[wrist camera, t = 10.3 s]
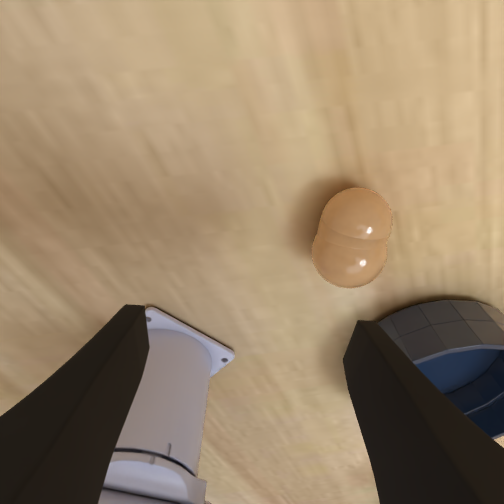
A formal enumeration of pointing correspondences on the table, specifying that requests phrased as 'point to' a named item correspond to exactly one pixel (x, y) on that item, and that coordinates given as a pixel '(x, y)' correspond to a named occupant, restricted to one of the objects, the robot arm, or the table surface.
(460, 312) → the basin
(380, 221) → the tan double sphere
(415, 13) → the table surface
